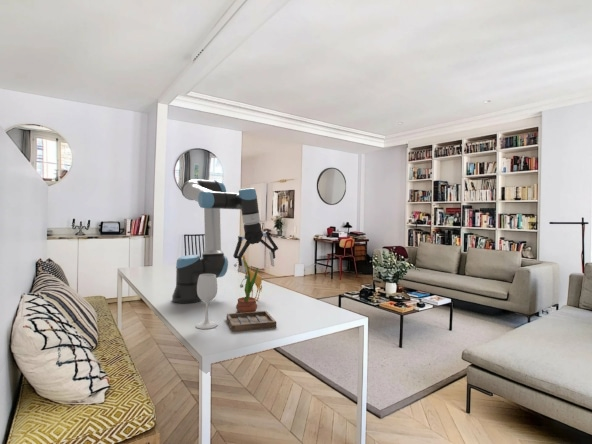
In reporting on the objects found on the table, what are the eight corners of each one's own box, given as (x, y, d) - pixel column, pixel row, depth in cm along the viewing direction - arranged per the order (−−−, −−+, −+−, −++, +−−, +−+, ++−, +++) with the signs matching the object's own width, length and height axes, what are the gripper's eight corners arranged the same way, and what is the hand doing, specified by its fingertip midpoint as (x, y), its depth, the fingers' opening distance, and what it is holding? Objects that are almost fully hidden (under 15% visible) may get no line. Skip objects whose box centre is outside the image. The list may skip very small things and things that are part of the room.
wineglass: (211, 330, 134) (212, 277, 133) (191, 328, 135) (192, 276, 135) (220, 323, 142) (221, 273, 142) (201, 321, 144) (202, 272, 143)
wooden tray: (226, 319, 147) (226, 313, 147) (266, 316, 153) (266, 310, 153) (232, 331, 132) (232, 325, 132) (276, 327, 138) (276, 321, 138)
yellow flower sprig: (239, 305, 171) (240, 255, 170) (234, 303, 174) (235, 255, 173) (264, 299, 182) (265, 253, 182) (259, 298, 186) (260, 253, 185)
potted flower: (235, 315, 153) (236, 261, 152) (229, 309, 162) (230, 258, 161) (260, 312, 158) (261, 260, 158) (252, 307, 167) (254, 257, 167)
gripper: (225, 228, 142) (232, 277, 145) (280, 219, 150) (287, 264, 153) (222, 226, 149) (229, 272, 152) (276, 217, 157) (281, 261, 160)
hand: (258, 269), depth 152 cm, fingers open, 13 cm apart
